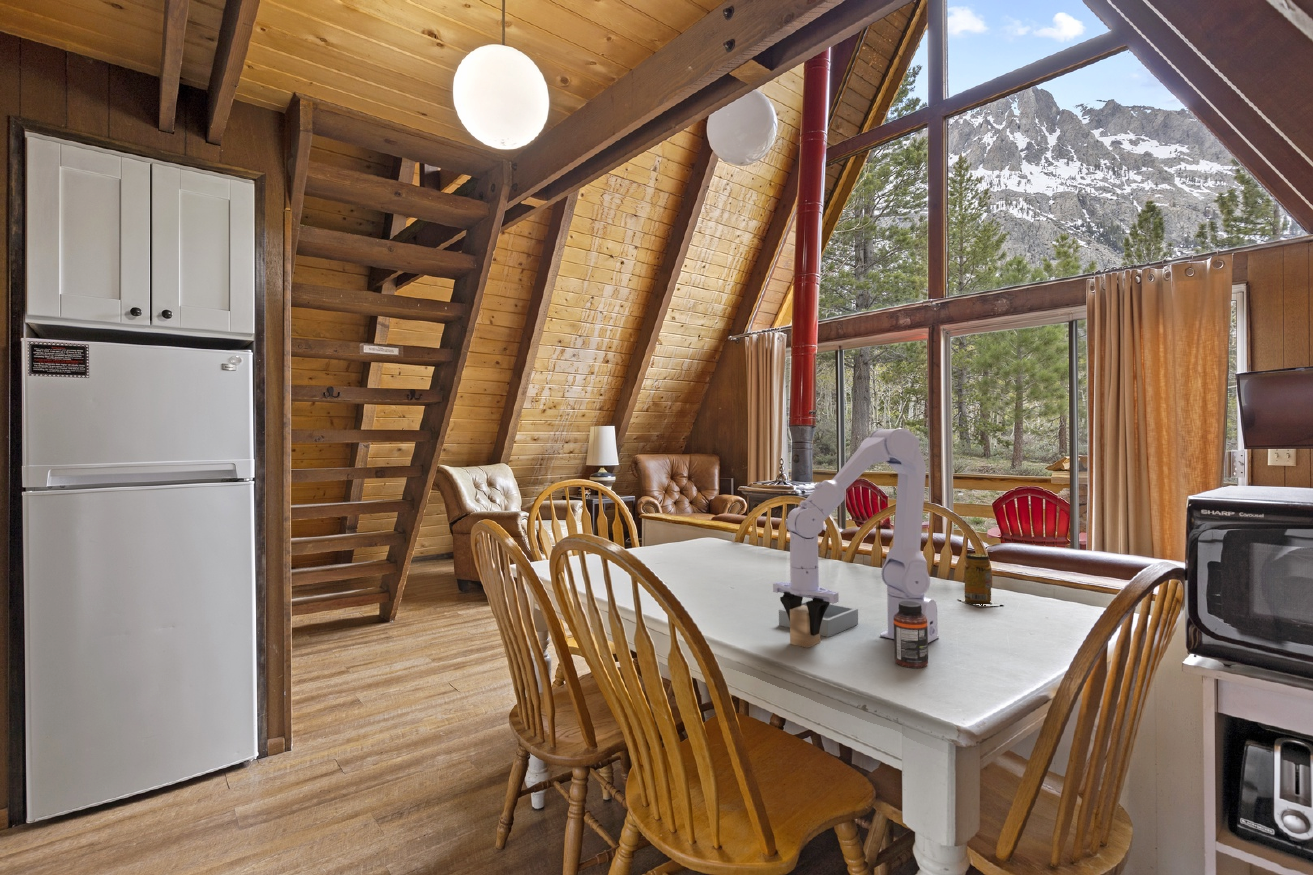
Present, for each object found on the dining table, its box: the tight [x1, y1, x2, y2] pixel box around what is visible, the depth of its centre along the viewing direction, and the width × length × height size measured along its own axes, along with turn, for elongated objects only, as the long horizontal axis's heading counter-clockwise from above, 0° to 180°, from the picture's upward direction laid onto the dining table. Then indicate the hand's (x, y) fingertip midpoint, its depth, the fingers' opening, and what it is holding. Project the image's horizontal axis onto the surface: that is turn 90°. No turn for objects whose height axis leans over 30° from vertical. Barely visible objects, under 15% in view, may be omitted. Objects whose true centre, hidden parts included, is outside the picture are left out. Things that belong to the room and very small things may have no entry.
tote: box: [778, 599, 859, 638], centre depth 149 cm, size 13×13×4 cm
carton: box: [789, 605, 821, 649], centre depth 136 cm, size 4×5×7 cm
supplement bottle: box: [893, 601, 929, 669], centre depth 123 cm, size 6×6×11 cm
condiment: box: [961, 552, 1000, 608], centre depth 166 cm, size 7×8×12 cm
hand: (805, 632), depth 136 cm, fingers closed on carton, 4 cm apart
